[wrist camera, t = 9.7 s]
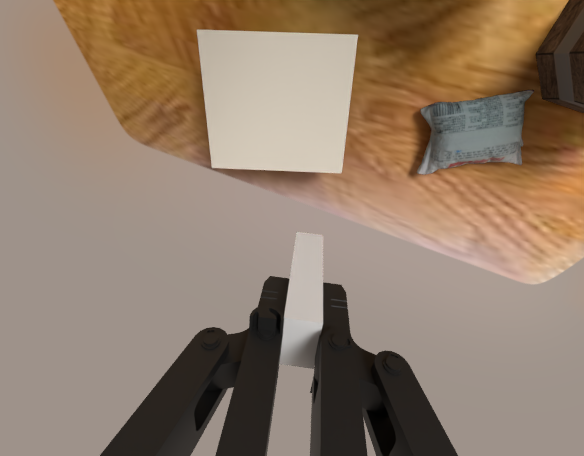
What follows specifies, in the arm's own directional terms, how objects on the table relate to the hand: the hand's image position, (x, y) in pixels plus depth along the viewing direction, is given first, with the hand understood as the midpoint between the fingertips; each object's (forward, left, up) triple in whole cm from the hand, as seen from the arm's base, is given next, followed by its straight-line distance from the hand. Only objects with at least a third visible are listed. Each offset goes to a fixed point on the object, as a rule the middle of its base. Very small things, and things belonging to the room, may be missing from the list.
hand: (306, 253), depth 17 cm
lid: (-5, -4, -17) cm, 19 cm away
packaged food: (-2, +19, -26) cm, 32 cm away
